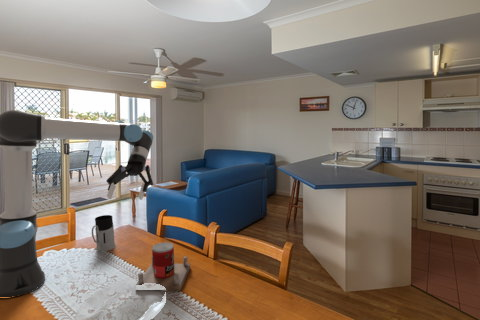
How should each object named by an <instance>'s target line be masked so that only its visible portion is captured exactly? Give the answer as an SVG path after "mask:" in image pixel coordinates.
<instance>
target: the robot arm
mask: <svg viewBox="0 0 480 320" xmlns="http://www.w3.org/2000/svg"><path fill="white" fill-rule="evenodd" d="M46 139H55V140H56V139H58V140H61V139H63V140H81V141H83V140H85V141H86V140H88V141H89V140H90V141H113V142H115V141H116V142H125V143H126V144H129V145H131V146H132V149H131V152H130V155H129V157H128V160H127V165H126V166H125V165H123V164H120V165H119V166H118V168H117V169H116V170H115V171H114V172H113V173H112V174H111V175H110V176H109V177H108V178H107V179H106V183H107V184H108V186H107V187H108V188H107V194H106V197H107V198H108V199H109V200H112V197H113V195H114V192H115V190H116V187H117V186H116V185H117V184H118V183H120V182H121V181H123V180H125V178H128V177H132V176H134V177H137V176H139V177H140V178H141V180H142V183H141V187H140V190H139V192H138V198H139V200H140V201H143V198H144V194H145V193H147V191H148V188H149V186H153V185H154V181H153V179H152V178H153V177H152V174H151V168H150V165H149V164H147V165H146V162H147V159H148V156H149V153H150V151H151V147H152V145H153V140H154V136H153V133H152V132H151V131H149V130H146V129H142V128H141V126H140V125H138V124H136V123H126V122H124V121H121V120H120V119H117V120H115V122H112V121H111V122H109V121H108V122H107V121H97V120H96V121H95V120H94V121H93V120H83V119H81V120H80V119H67V118H54V117H52V118H51V117H46V116H45V115H43V114H37V113H30V112H25V111H22V110H18V109H17V110H16V109H14V110H13V109H11V110H6V111H4V112H2V113H0V148H1V149H2V150H3V152H4V153H3V154H4V156H3V157H4V158H3V159H4V161H3V162H4V163H3V165H4V167H3V168H4V170H3V171H4V174H3V175H4V181H3V182H4V211H3V212H1V213H0V297H12V296H18V295H21V296H23V295H22V294H24V295H26V294H25V293H27V294H28V292H29V293H31V292H33V291H35V290H37V289H38V288H37V287H39V286H40V285H41V284H42V283H43V282H44V281H46V274H45V271H43V269H42V266H41V265H40V263H39V262H38V255H37V253H38V252H37V245H36V244H37V241H36V239H37V233H38V224H37V221H38V219H37V218H38V217H37V213H38V212H37V211H36V210H35V209H33V150H34V149H35V148H37V146H38V145H37V141H40V142H42V141H45V140H46ZM144 171H145V172H146V175H147V179H146V177H145V176H144V175H143V174H142V172H144ZM44 283H45V282H44ZM44 283H43V284H44ZM43 284H42V285H43ZM42 285H41V286H42ZM41 286H40V287H41ZM40 287H39V288H40ZM36 288H37V289H36ZM34 289H35V290H34ZM32 290H33V291H32ZM30 291H31V292H30ZM18 297H19V296H18Z"/></svg>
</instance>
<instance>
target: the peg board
mask: <svg viewBox="0 0 480 320" xmlns="http://www.w3.org/2000/svg"><path fill="white" fill-rule="evenodd" d="M182 260H183V263H174V269H175V271H174V274H173V275H172V276H171V277H168V278H164V279H160V278H156V277H155V276H154V273H153V256H151V263H150V265H149V266H148V268H147V269H146V270H145V272H144V273H143V272H140V273H139V272H138V273H137V275H138V276H137V277H138V281H137V282H136V283H135V285H142V284H144V283H156V284H160V285H162V286H164V287H165V288H166V290H167V291H166V292H180V293H181V290H182V287H183V285H184V283H185V281H186V279H187V277H188V275H189V272H190V270H191V263H188V262H189V261H188V256H183V259H182Z"/></svg>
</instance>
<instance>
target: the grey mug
mask: <svg viewBox="0 0 480 320" xmlns="http://www.w3.org/2000/svg"><path fill="white" fill-rule="evenodd" d="M94 223H95V224H94V225H93V226H92V227H91V228H92V229H91V238H92V239H93V242H94V243H95V244H96V247H95V250H96V251H97V250H98V251H97V252H107V251H110V250H113V249H115V248H116V247H117V245H116V243H115V241H116V240H115V232H114V230H115V229H114V221H113V215H111V214H110V215H109V214H105V215H100V216H96V217H95V218H94ZM94 229H95V235H94Z"/></svg>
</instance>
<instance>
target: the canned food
mask: <svg viewBox="0 0 480 320" xmlns="http://www.w3.org/2000/svg"><path fill="white" fill-rule="evenodd" d="M151 247H152V248H151V250H152V251H151V254H152V256H153V273H154V276H155V277H156V278H160V279H164V278H168V277H171V276H172V275H173V274H174V271H175V269H174V264H175V249H174V244H173V243H172V242H168V241H167V242H165V241H164V242H159V243H156V244H154V245H153V246H151ZM152 256H151V257H152Z"/></svg>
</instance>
